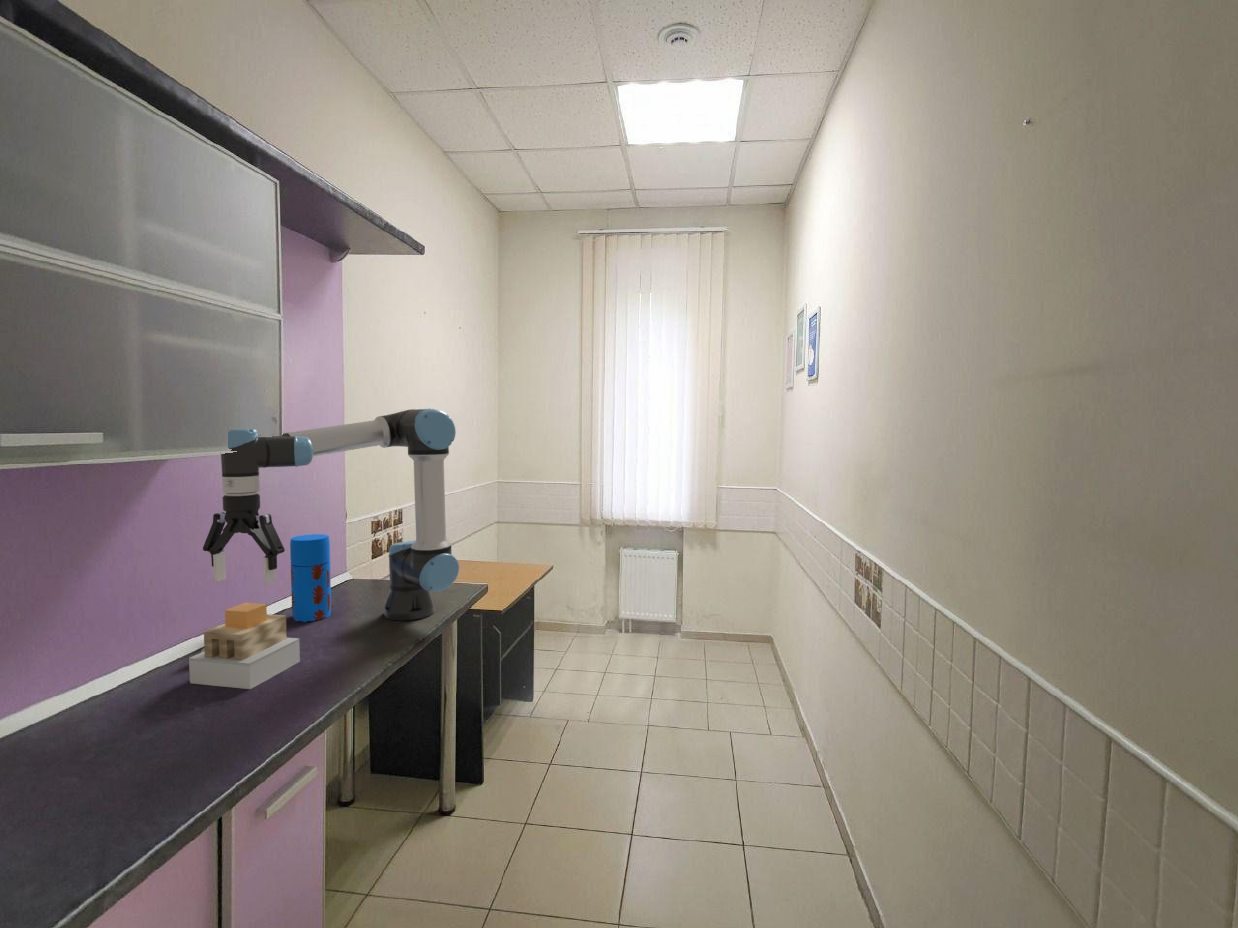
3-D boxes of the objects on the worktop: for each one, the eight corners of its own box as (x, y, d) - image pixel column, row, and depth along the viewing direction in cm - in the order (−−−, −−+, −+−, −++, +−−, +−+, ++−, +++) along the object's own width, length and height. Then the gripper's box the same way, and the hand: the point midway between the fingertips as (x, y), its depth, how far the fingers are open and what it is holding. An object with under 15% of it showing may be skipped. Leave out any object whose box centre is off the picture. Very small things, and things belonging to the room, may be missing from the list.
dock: (244, 656, 154) (244, 634, 153) (299, 661, 151) (299, 638, 150) (190, 683, 138) (188, 657, 138) (250, 689, 135) (249, 663, 135)
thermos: (288, 615, 187) (286, 536, 185) (325, 608, 194) (323, 532, 192) (297, 624, 178) (294, 542, 177) (335, 617, 185) (333, 537, 184)
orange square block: (245, 618, 147) (245, 602, 147) (266, 620, 146) (266, 604, 146) (225, 626, 141) (224, 610, 141) (247, 628, 140) (246, 611, 140)
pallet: (251, 635, 152) (251, 612, 152) (286, 638, 150) (285, 615, 150) (204, 656, 138) (203, 631, 138) (242, 660, 136) (241, 634, 136)
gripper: (182, 494, 140) (186, 582, 141) (275, 497, 136) (279, 588, 137) (209, 490, 147) (213, 574, 149) (299, 493, 143) (302, 580, 144)
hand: (244, 581), depth 143 cm, fingers open, 13 cm apart
